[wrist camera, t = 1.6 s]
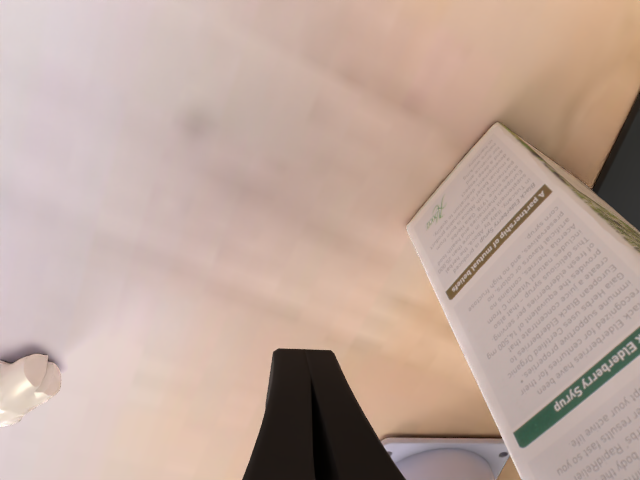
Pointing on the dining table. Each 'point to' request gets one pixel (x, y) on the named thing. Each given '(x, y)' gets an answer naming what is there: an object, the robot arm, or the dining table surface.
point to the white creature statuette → (26, 386)
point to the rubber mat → (624, 171)
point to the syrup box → (540, 306)
